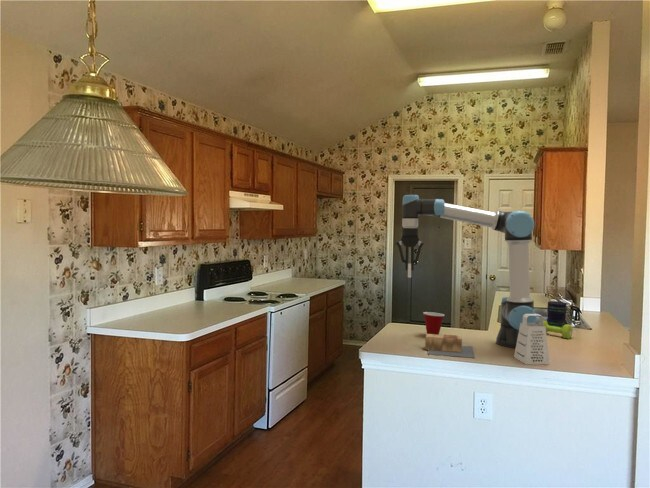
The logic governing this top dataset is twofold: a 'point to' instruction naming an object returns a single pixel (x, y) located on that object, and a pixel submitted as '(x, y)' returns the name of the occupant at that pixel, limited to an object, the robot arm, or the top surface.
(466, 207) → the robot arm
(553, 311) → the storage jar
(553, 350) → the top surface
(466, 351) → the mat
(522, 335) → the grater
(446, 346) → the oak block
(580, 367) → the top surface
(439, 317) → the plastic cup
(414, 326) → the top surface
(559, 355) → the top surface
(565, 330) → the dumbbell
